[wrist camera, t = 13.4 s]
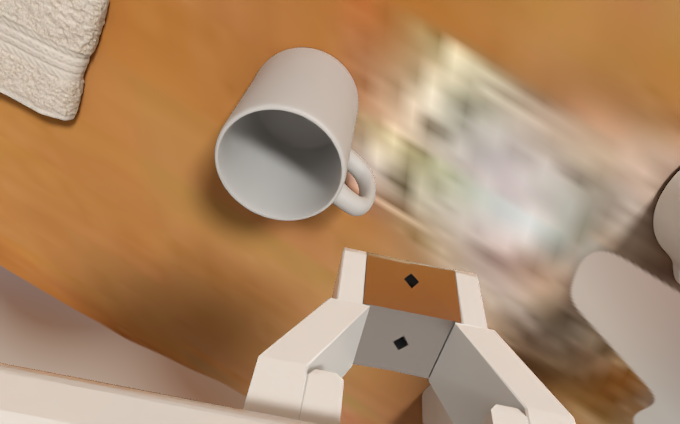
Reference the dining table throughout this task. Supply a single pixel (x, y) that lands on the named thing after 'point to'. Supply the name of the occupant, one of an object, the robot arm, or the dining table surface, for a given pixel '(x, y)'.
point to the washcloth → (48, 51)
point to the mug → (295, 140)
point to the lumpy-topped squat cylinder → (433, 408)
